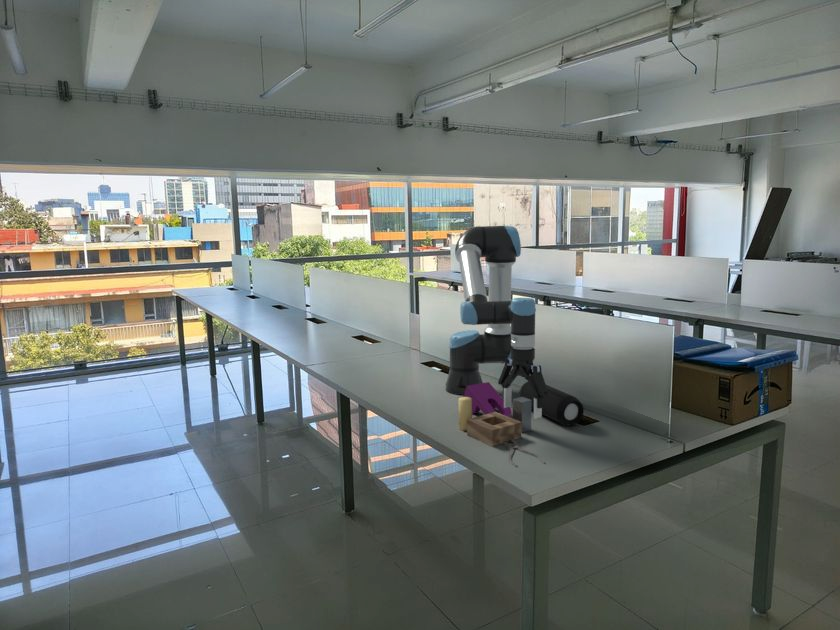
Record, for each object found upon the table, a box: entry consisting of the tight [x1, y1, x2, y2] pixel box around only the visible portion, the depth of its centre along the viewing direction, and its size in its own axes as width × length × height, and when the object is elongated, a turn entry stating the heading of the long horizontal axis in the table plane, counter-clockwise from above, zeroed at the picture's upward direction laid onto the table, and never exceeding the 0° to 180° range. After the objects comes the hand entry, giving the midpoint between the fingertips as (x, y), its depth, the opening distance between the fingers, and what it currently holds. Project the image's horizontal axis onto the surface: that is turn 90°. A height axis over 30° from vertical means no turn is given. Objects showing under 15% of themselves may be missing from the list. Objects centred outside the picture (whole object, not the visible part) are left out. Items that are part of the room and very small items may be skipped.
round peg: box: [458, 396, 473, 432], centre depth 184 cm, size 4×4×10 cm
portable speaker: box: [519, 381, 585, 426], centre depth 195 cm, size 26×10×10 cm, turn 23°
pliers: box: [502, 439, 546, 468], centre depth 165 cm, size 10×1×20 cm
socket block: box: [466, 411, 522, 447], centre depth 178 cm, size 12×12×5 cm
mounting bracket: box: [463, 381, 513, 418], centre depth 198 cm, size 10×8×18 cm
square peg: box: [512, 396, 532, 434], centre depth 183 cm, size 4×4×10 cm
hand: (522, 412), depth 182 cm, fingers open, 13 cm apart
